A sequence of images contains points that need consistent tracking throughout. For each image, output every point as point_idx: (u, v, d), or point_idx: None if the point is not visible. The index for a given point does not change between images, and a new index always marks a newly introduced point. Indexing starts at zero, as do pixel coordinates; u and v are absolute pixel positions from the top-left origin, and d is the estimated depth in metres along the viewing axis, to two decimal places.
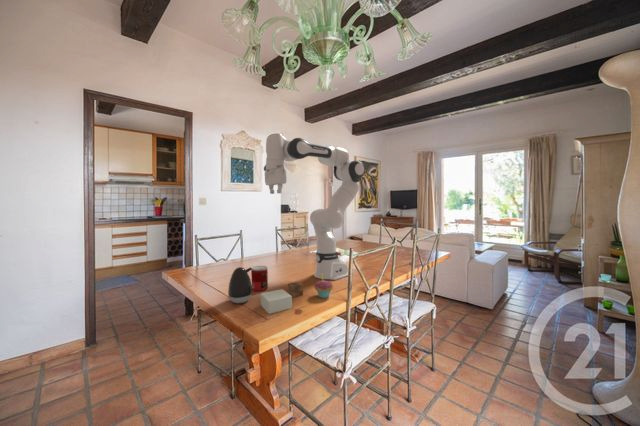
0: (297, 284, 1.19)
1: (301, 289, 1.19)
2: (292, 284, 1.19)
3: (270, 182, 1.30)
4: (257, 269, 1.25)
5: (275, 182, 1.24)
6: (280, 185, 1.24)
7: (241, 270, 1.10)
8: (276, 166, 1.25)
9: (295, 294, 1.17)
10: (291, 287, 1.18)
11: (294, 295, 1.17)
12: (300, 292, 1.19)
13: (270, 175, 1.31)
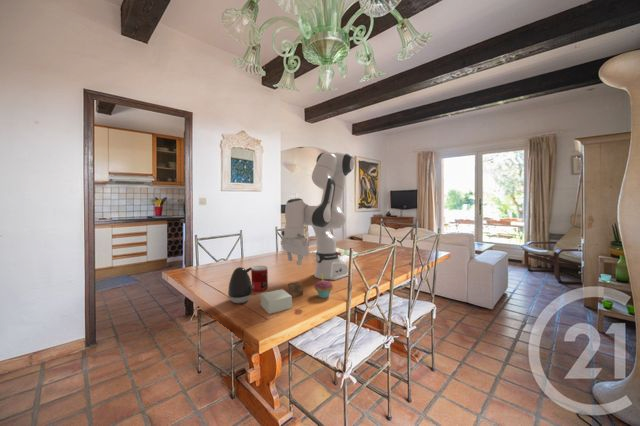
0: (297, 284, 1.19)
1: (301, 289, 1.19)
2: (292, 284, 1.19)
3: (289, 250, 1.20)
4: (257, 269, 1.25)
5: (295, 253, 1.14)
6: (300, 257, 1.13)
7: (241, 270, 1.10)
8: (296, 235, 1.14)
9: (295, 294, 1.17)
10: (291, 287, 1.18)
11: (294, 295, 1.17)
12: (300, 292, 1.18)
13: (289, 242, 1.20)
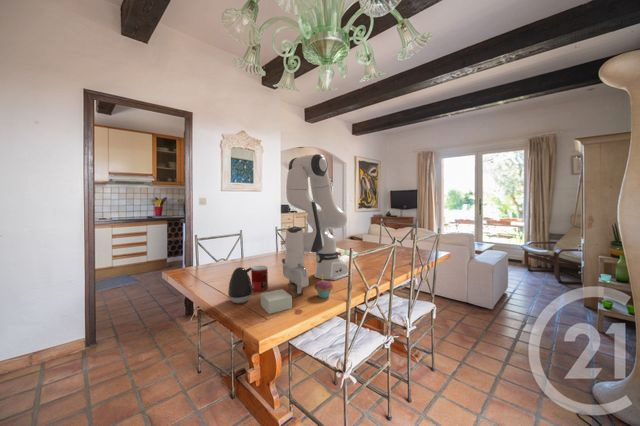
0: None
1: (301, 289, 1.19)
2: (292, 284, 1.19)
3: (289, 278, 1.21)
4: (257, 269, 1.25)
5: (296, 283, 1.15)
6: (300, 285, 1.15)
7: (241, 270, 1.10)
8: (297, 265, 1.15)
9: (295, 294, 1.17)
10: (291, 287, 1.18)
11: (294, 295, 1.17)
12: None
13: (289, 270, 1.21)
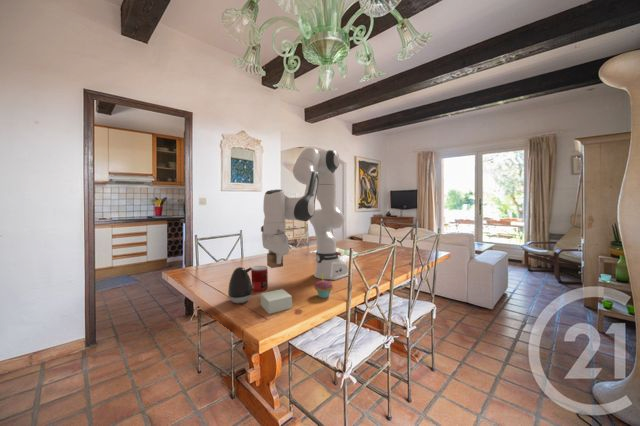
0: None
1: (281, 259, 1.04)
2: (271, 254, 1.05)
3: (269, 247, 1.06)
4: (257, 269, 1.25)
5: (275, 251, 1.00)
6: (279, 255, 1.01)
7: (241, 270, 1.10)
8: (276, 231, 1.00)
9: (274, 264, 1.03)
10: (270, 257, 1.03)
11: (273, 266, 1.02)
12: None
13: (269, 239, 1.06)
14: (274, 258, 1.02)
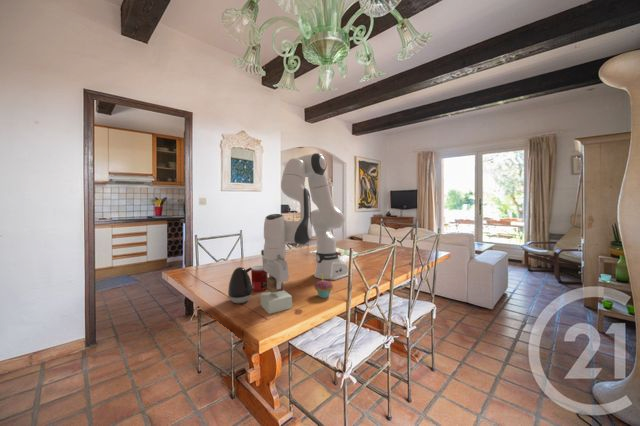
0: None
1: (281, 284, 1.05)
2: (271, 278, 1.05)
3: (269, 272, 1.07)
4: (257, 269, 1.25)
5: (275, 277, 1.01)
6: None
7: (241, 270, 1.10)
8: (276, 257, 1.01)
9: (274, 289, 1.03)
10: (270, 281, 1.04)
11: (273, 291, 1.03)
12: None
13: (269, 263, 1.07)
14: (274, 283, 1.03)
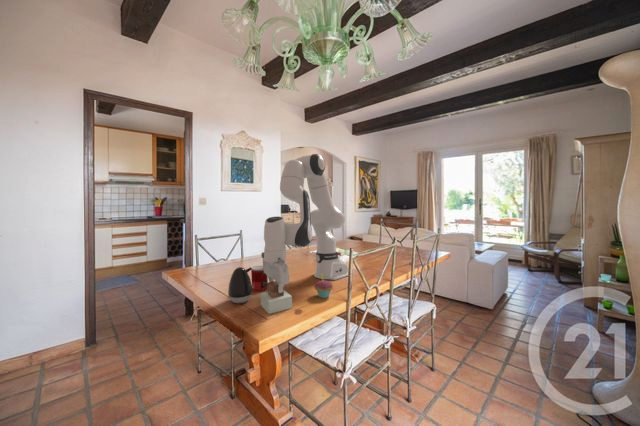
0: (277, 283, 1.05)
1: None
2: (272, 283, 1.05)
3: (269, 274, 1.07)
4: (257, 269, 1.25)
5: (275, 279, 1.01)
6: None
7: (241, 270, 1.10)
8: (276, 259, 1.01)
9: (275, 294, 1.03)
10: (270, 286, 1.04)
11: (273, 296, 1.03)
12: None
13: (269, 265, 1.07)
14: (275, 288, 1.03)
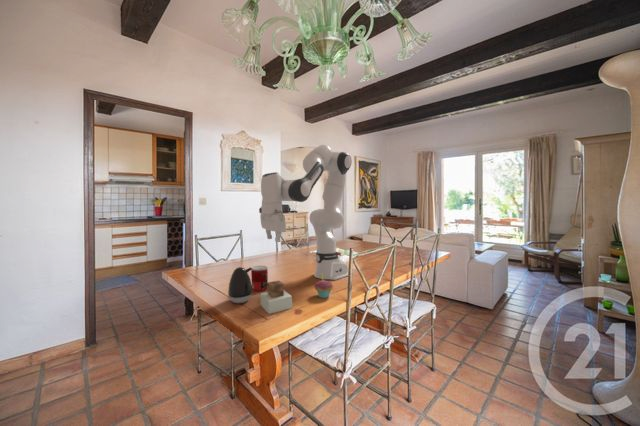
0: (277, 283, 1.05)
1: (282, 289, 1.05)
2: (272, 283, 1.05)
3: (267, 227, 1.14)
4: (257, 269, 1.25)
5: (273, 229, 1.08)
6: (279, 233, 1.07)
7: (241, 270, 1.10)
8: (273, 211, 1.08)
9: (275, 294, 1.03)
10: (270, 286, 1.04)
11: (273, 296, 1.03)
12: (281, 292, 1.05)
13: (267, 219, 1.14)
14: (275, 288, 1.03)
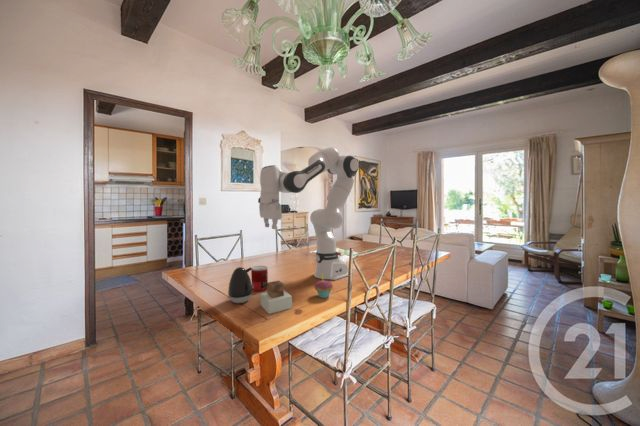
0: (277, 283, 1.05)
1: (282, 289, 1.05)
2: (272, 283, 1.05)
3: (265, 216, 1.23)
4: (257, 269, 1.25)
5: (270, 217, 1.17)
6: (275, 221, 1.17)
7: (241, 270, 1.10)
8: (271, 200, 1.18)
9: (275, 294, 1.03)
10: (270, 286, 1.04)
11: (273, 296, 1.03)
12: (281, 292, 1.05)
13: (265, 208, 1.24)
14: (275, 288, 1.03)
